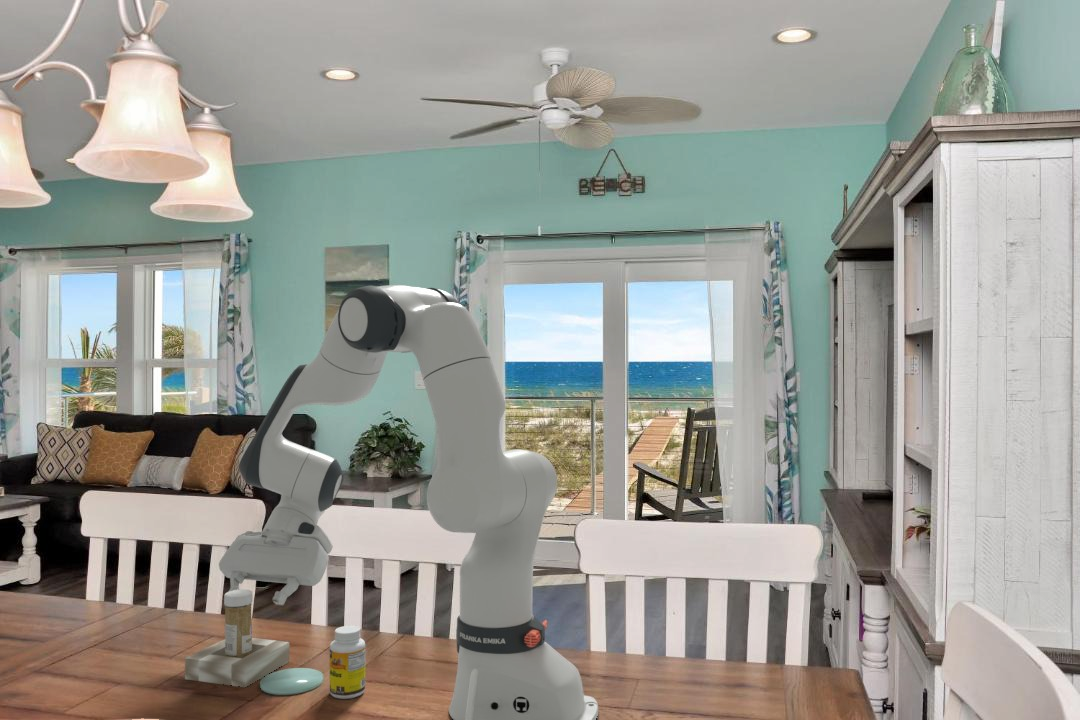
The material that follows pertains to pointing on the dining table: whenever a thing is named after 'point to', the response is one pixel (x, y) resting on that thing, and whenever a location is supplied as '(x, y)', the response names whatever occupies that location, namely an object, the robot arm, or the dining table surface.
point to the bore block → (236, 663)
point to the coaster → (291, 681)
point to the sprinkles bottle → (238, 623)
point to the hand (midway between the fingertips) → (254, 600)
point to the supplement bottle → (347, 663)
